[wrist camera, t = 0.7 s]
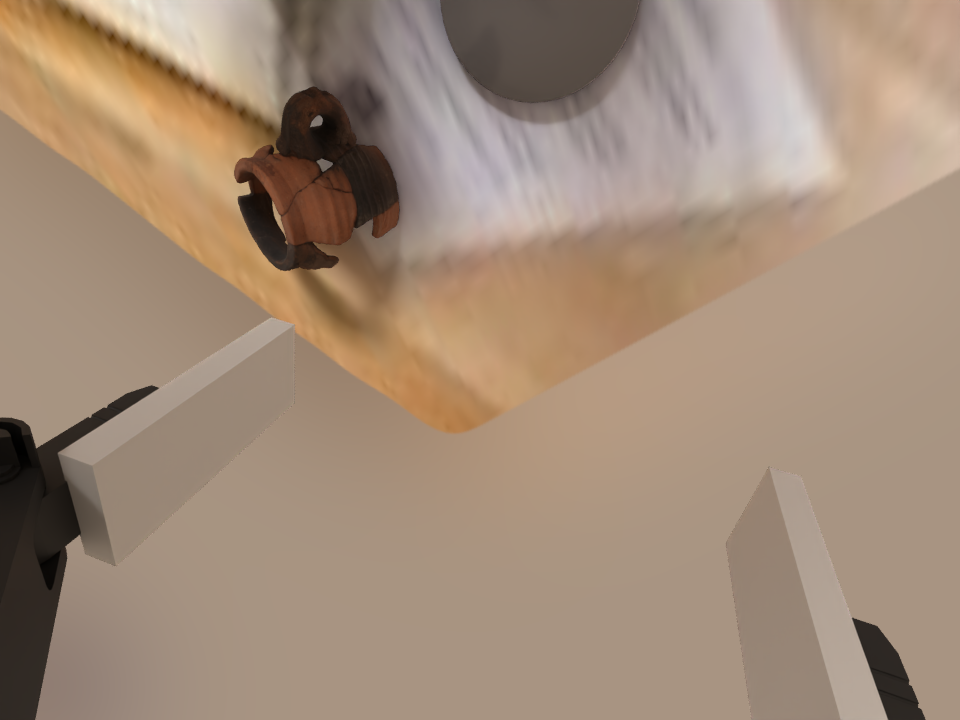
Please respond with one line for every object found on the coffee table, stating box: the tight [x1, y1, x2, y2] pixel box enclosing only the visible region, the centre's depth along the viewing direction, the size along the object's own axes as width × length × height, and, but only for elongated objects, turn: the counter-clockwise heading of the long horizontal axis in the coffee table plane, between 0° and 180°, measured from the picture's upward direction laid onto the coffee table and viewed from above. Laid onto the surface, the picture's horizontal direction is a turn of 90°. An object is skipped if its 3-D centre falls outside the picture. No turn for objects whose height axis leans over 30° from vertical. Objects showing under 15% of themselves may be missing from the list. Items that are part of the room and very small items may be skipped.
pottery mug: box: [234, 87, 399, 271], centre depth 37 cm, size 12×9×8 cm
